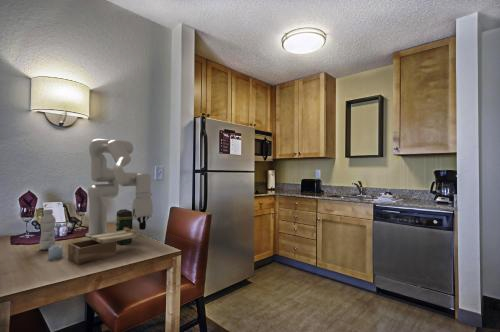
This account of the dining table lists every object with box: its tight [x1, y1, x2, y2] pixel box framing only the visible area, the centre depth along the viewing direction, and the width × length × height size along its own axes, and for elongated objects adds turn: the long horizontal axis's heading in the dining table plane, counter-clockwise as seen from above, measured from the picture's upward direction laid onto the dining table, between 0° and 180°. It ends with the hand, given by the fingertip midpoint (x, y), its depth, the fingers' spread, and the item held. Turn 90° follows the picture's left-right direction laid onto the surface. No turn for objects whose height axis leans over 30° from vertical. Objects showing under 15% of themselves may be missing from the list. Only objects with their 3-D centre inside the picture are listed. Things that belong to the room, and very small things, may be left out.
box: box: [67, 238, 117, 266], centre depth 123 cm, size 12×16×7 cm
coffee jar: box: [115, 208, 134, 245], centre depth 149 cm, size 10×8×19 cm
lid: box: [90, 227, 138, 244], centre depth 132 cm, size 13×17×3 cm
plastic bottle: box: [38, 209, 57, 251], centre depth 134 cm, size 6×7×20 cm
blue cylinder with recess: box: [48, 245, 64, 261], centre depth 122 cm, size 5×5×5 cm
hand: (142, 229), depth 144 cm, fingers closed
